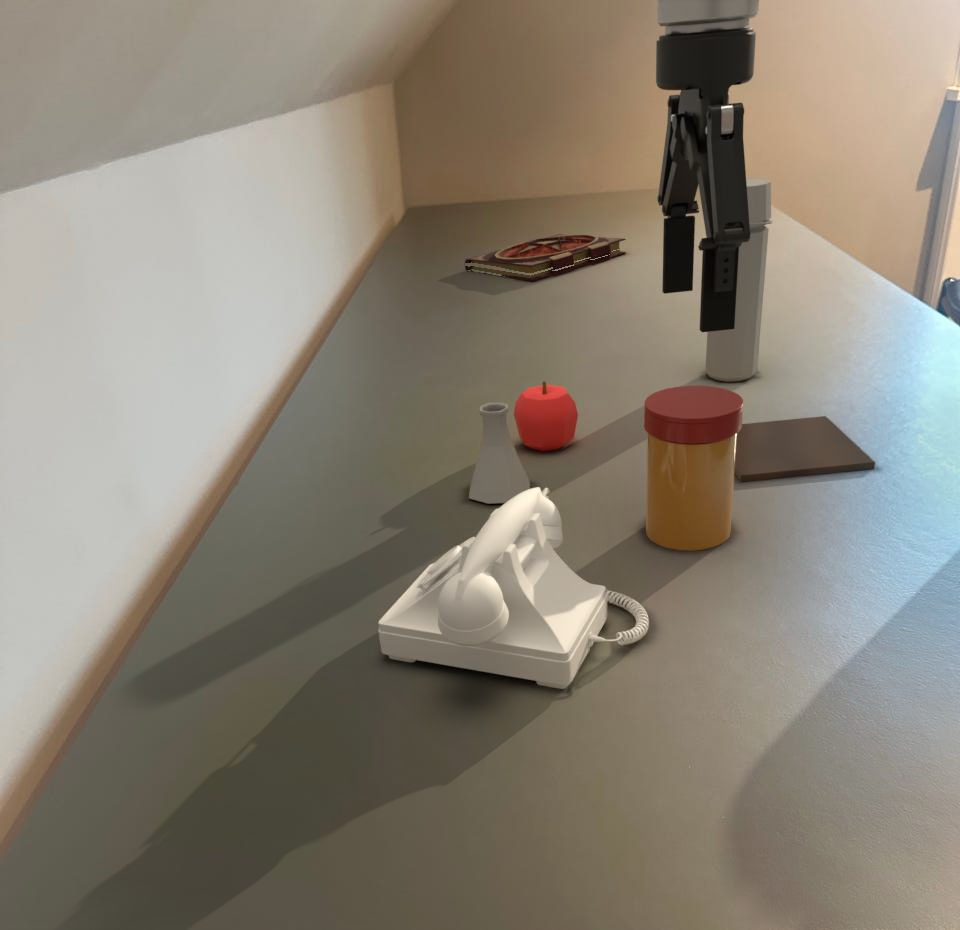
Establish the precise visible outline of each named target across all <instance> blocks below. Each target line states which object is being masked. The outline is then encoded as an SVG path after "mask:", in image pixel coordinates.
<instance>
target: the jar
mask: <svg viewBox="0 0 960 930" xmlns="http://www.w3.org/2000/svg"><path fill="white" fill-rule="evenodd" d="M646 445H647V447H646V449H647V450H646V451H647V453H646V456H647V457H646V501H645V502H646V503H645V506H646V507H645V508H646V509H645V534H646V536H647V538H648V539H649V540H650V541H651V542H652V543H655V544H656V545H657V546H660V547H663V548H666V549H670V550H676V551H687V552H688V551H690V552H692V551H702V550H703V551H704V550H708V549H712V548H716V547H718V546H720V545H722V544H724V543H725V542H726V541H727V540H729V538H730V536H731V531H732V530H731V529H732V516H733V503H734V489H735V477H736V475H735V461H736V447H737V433H736V434H735V435H733V436H731V437H729V438H726V439H723V440H719V441H715V442H708V443H696V444H693V443H675V442H670V441H665V440H661V439H658V438H656V437H653V436H652V435H650V434H648V433H647V444H646Z"/></svg>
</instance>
